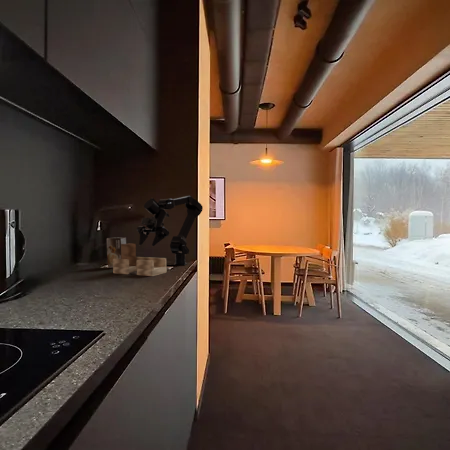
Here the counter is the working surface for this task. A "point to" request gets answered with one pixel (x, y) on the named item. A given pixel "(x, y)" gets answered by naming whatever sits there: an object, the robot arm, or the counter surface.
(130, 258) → the walnut block
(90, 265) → the counter surface
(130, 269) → the tunnel deck
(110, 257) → the coffee box
